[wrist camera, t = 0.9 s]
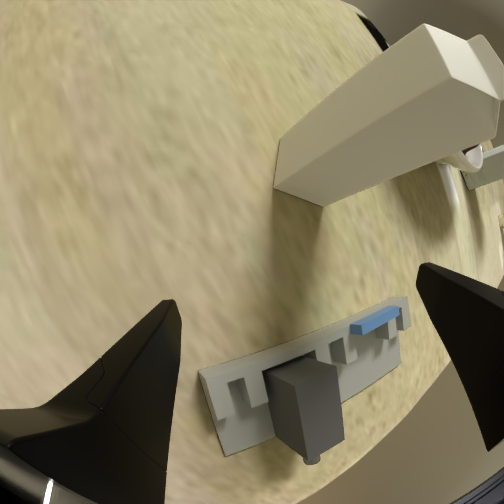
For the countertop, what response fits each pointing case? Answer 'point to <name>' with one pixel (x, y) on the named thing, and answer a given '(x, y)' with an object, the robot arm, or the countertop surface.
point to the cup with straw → (501, 221)
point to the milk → (394, 117)
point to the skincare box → (487, 169)
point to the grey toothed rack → (312, 346)
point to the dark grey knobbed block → (305, 406)
